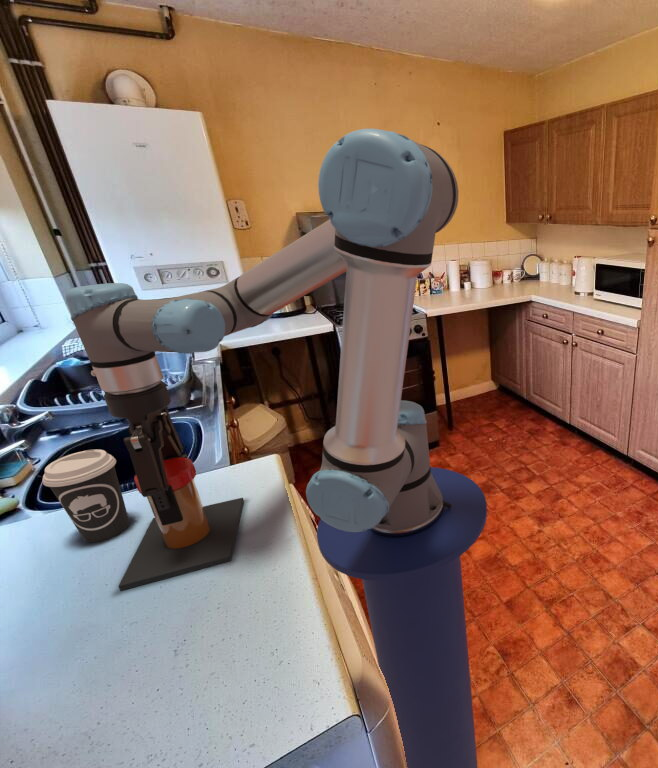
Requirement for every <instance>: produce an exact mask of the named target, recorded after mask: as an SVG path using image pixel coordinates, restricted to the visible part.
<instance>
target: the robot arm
mask: <svg viewBox="0 0 658 768" xmlns="http://www.w3.org/2000/svg"><path fill="white" fill-rule="evenodd" d="M317 182H318V185H317V186H318V196H319V197H318V198H319V201H320V204H321V209H322V210H323V213H324V214H325V215H326V216H327V217H328V219H327V220H326V221H324V222H322V223H321V224H320V225H318V226H316V227H315V228H313V229H312V230H310V231H309V232H307V233H305V234H304V235H302V236H301V237H299V238H297V239H296V240H294V241H293V242H291V243H289V244H288V245H286V246H285V247H284V248H281V249H280V250H278V251H277V252H275V253H274V254H271V255H270V256H268V257H267V258H266V259H264V260H262V261H261V262H259V263H257V264H255V265H254V266H253V267H252V268H249V269H248V270H247V271H245V272H244V273H242V274H240V275H239V276H238V277H236V278H234V279H232V280H231V281H229V282H227V283H226V284H224V285H222V286H219V287H216V288H211V289H207V290H202V291H198V292H193V293H190V294H189V293H188V294H183V295H180V296H174V297H170V298H161V299H160V298H159V299H141V298H139V297H138V295H137V294H136V292H135V290H134V288H133V286H131V284H128V283H125V282H124V283H123V282H109V283H98V284H97V283H95V284H89V285H88V284H87V285H82V286H76V287H73V288H70V289H69V290H67V292H65V299H66V303H67V306H68V310H69V312H70V315H71V316H70V320H71V321H72V323H73V325H74V327H75V329H76V331H77V334H78V336H79V339H80V342H81V344H82V346H83V348H84V351H85V353H86V355H87V358H88V361H89V362H90V365H91V367H92V370H91V371H90V374H91V376H92V377H96V379H97V383H98V385H99V387H100V389H101V391H102V392H104V394H103V399H104V401H105V403H106V406H107V409H108V411H109V413H110V415H111V416H112V417H114V418H115V419H116V418H117V419H125V420H127V421H128V427H127V428H128V433H129V436H127V437H124V438H123V443H124V445H125V447H126V449H127V451H128V453H129V456H130V459H131V462H132V465H133V469H134V473H135V475H136V476H137V479H138V482H139V485H140V489H141V493H140V494H141V496H142V497H143V498H147V496H151V498H152V500H153V503H154V505H155V508H156V510H157V513H158V516H159V518H160V521H161V523H162V526H163V525H167V524H172V523H176V522H180V521H182V520H183V517H182V514H181V511H180V508H179V506H178V503H177V500H176V497H175V495H174V492H173V489H172V486H168V483H167V477H166V472H165V467H164V462H163V460H167V459H172V458H188V454H187V452H184V447H183V445H182V442H181V440H180V437H179V435H178V432H177V429H176V427H175V426H174V423H173V420H172V418H171V415H170V412H169V405H170V403H171V402H172V401H171V400H172V399H171V396H170V394H169V390H168V387H167V385H166V382H164V381H163V379H164V374H163V372H162V369H161V366H160V363H159V360H158V357H157V355H156V352H157V353H178V354H186V355H189V354H194V353H208V352H211V351H213V350H215V349H216V348H217V347H218V346H219V344H220V343H221V342H222V341H223V340H224V338H225V337H227V336H229V335H231V334H235V333H237V332H240V331H243V330H246V329H250V328H255V327H257V326H259V325H261V324H263V323H264V322H267V321H268V320H269V319H271V318H272V316H273V314H275V313H277V312H278V311H280V310H281V309H283V308H285V307H287V306H289V305H290V304H292V303H294V302H295V301H297V300H299V299H301V298H303V297H304V296H306V295H308V294H310V293H312V292H313V291H315V290H316V289H319V288H320V287H322V286H324V285H325V284H327V283H329V282H331V281H333V280H334V279H336V278H337V277H340V276H342V275H343V274H345V286H344V302H343V313H342V314H343V315H342V329H341V345H340V356H339V357H340V358H339V373H338V387H337V400H336V401H337V403H336V415H335V416H336V417H335V425H334V426H332V427H331V428H330V429H328V430H327V431H326V433H325V434H324V437H323V441H322V457H321V466H320V468H319V469H318V471H316V472H315V473H313V475H312V476H311V478H310V480H309V482H308V483H307V485H306V489H305V496H306V500H307V504H308V505H309V507H310V509H311V510H312V512H313V513H314V515H316V516H317V517H319V518H320V519H322V520H323V521H324V522H325V523H327V524H329V525H330V526H332V527H334V528H337V529H340V530H343V531H348V532H363V531H366V530H367V529H369V530H370V531H372V532H373V533H375V534H377V535H380V536H384V537H391V538H398V537H406V536H411V535H414V534H417V533H420V532H422V531H424V530H426V529H428V528H429V527H431V526H432V525H433V524H435V523H436V522H437V521H438V519H439V518H440V517H441V515H442V513H443V509H444V506H446V507H448V508H451V505H452V504H450V503H447V502H445V501H443V496H442V494H441V491H440V490H439V488H438V486H437V484H436V482H435V480H434V478H433V476H432V474H431V469H430V467H431V460H430V459H431V457H430V449H429V438H428V429H427V423H428V422H427V419H426V414H425V410H424V408H423V406H422V405H420V404H418V403H416V402H414V401H410V400H403V399H402V394H403V386H404V379H405V371H406V363H407V358H408V357H407V356H408V351H409V350H408V349H409V341H410V333H411V326H412V319H413V318H412V317H413V312H414V311H413V310H414V303H415V295H416V288H417V281H418V280H417V279H418V276H419V275H420V274H421V273H422V272H424V271H425V270H427V269H428V268H430V267H431V266H432V261H433V255H434V254H433V253H434V246H435V241H436V240H435V239H436V234H437V233H439V232H440V231H442V230H443V229H445V227H446V226H448V225H449V223H450V222H451V221H452V219H453V217H454V216H455V214H456V211H457V208H458V203H459V186H458V185H459V184H458V181H457V177H456V174H455V172H454V170H453V168H452V167H451V165H450V164H449V162H448V161H447V160H446V159H445V158H444V157H443V156H442V155H441V153H439V152H437V151H436V150H435V149H432V148H431V147H428V146H427V145H424V144H421V143H419V142H417V141H415V140H413V139H411V138H410V137H408V136H406V135H404V134H401V133H397V132H395V131H394V130H384V129H379V128H360V129H357V130H353V131H350V132H348V133H346V134H345V135H343V136H342V137H340V138H339V139H338V140H337V141H336V142H334V144H332V145H331V147H330V148H329V149H328V150H327V152H326V154H325V156H324V158H323V160H322V163H321V165H320V169H319V174H318V181H317Z"/></svg>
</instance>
